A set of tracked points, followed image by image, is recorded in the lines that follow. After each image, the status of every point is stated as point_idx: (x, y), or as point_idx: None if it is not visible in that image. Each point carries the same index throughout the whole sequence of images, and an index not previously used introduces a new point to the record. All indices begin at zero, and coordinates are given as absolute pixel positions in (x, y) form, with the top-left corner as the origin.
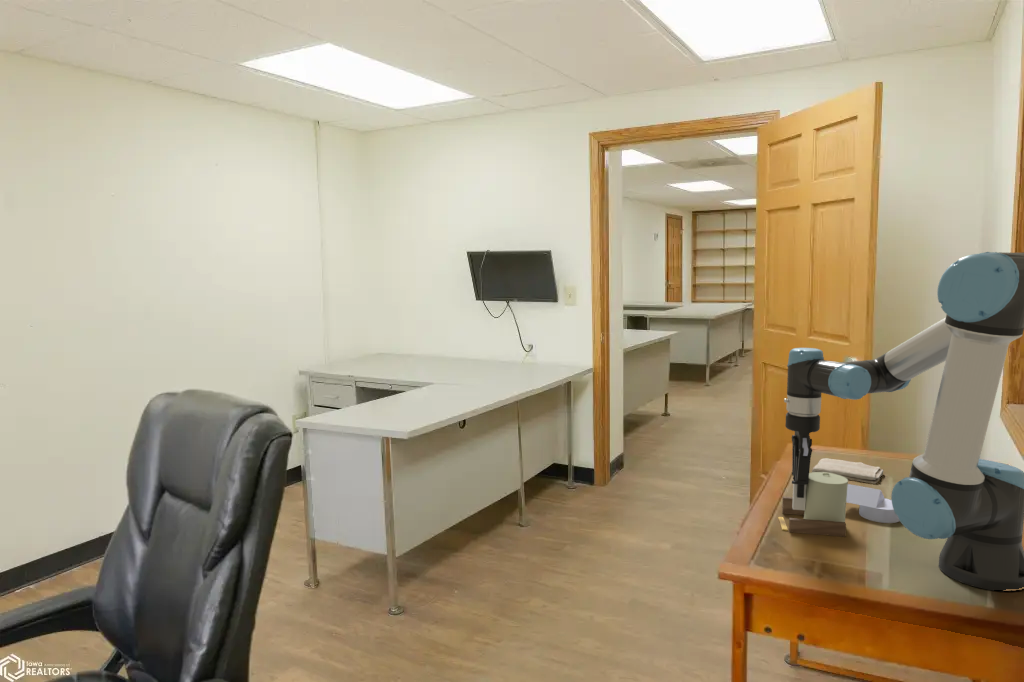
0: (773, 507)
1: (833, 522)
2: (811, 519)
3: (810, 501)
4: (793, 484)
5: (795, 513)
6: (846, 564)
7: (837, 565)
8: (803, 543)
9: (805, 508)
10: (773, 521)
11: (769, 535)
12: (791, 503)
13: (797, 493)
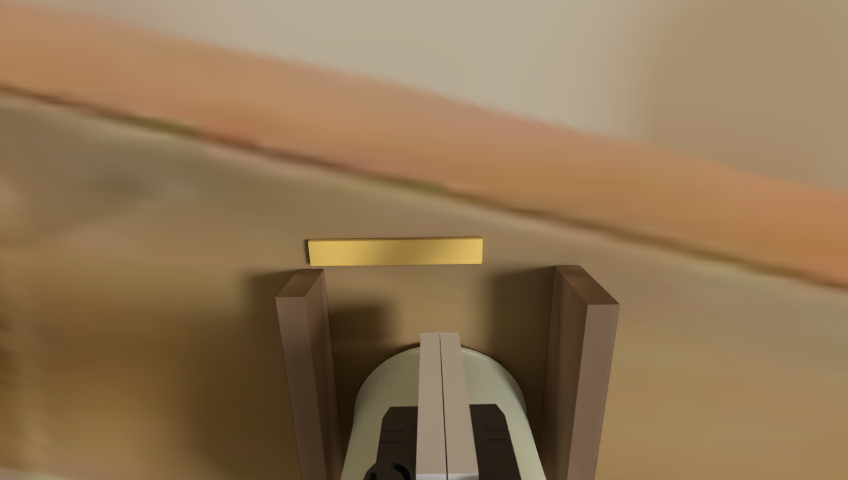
0: (645, 228)
1: (310, 477)
2: (378, 390)
3: None
4: (456, 453)
5: (551, 324)
6: (40, 426)
7: (12, 398)
8: (181, 311)
9: None
10: (426, 209)
11: (217, 171)
12: (570, 332)
13: (386, 430)
